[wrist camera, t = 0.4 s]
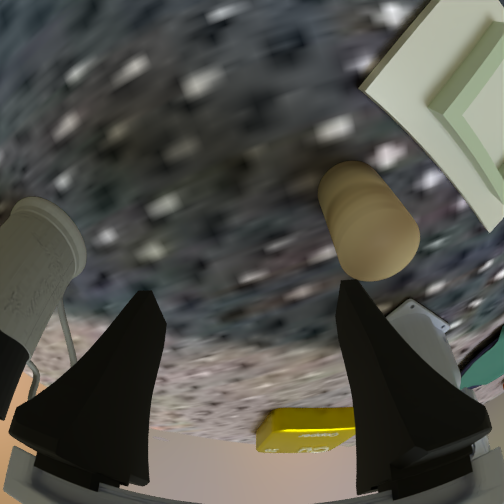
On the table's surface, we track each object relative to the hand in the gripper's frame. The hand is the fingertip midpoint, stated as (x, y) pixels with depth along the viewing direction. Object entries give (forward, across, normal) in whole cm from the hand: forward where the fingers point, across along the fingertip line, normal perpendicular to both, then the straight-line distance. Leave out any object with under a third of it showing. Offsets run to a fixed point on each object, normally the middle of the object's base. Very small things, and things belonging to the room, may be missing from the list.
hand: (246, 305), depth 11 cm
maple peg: (+9, -6, 0) cm, 11 cm away
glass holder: (+10, +17, +5) cm, 20 cm away
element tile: (+10, -5, +43) cm, 44 cm away
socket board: (+9, -17, -7) cm, 20 cm away
